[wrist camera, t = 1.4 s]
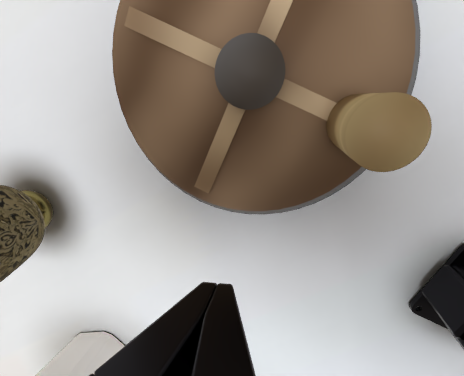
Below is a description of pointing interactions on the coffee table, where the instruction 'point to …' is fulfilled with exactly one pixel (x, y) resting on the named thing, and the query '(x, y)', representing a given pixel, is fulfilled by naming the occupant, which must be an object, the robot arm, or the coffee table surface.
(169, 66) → the handwheel
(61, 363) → the cup
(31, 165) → the coffee table surface
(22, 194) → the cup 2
